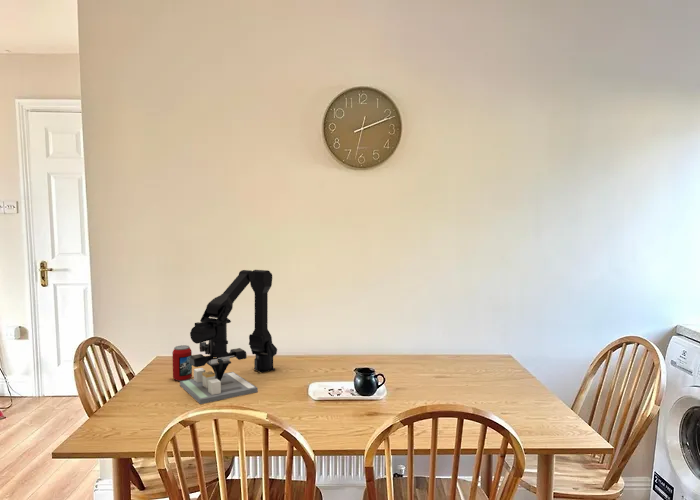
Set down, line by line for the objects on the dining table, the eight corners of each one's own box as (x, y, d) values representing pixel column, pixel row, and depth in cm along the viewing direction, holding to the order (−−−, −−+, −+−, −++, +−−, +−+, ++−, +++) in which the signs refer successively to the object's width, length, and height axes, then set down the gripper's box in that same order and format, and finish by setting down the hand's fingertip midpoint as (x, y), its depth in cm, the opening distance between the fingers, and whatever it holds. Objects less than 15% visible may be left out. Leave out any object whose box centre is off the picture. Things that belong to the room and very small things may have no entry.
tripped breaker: (211, 383, 175) (211, 371, 175) (214, 386, 172) (214, 373, 172) (202, 385, 174) (202, 372, 173) (206, 388, 171) (205, 375, 170)
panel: (233, 375, 190) (233, 371, 190) (257, 392, 172) (257, 387, 172) (179, 385, 178) (179, 381, 178) (200, 404, 160) (200, 399, 160)
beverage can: (186, 382, 182) (185, 349, 181) (169, 381, 183) (168, 348, 182) (195, 376, 188) (194, 345, 188) (179, 375, 190) (178, 344, 189)
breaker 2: (216, 390, 169) (216, 378, 169) (220, 393, 166) (220, 381, 166) (208, 391, 167) (208, 380, 167) (211, 394, 164) (211, 383, 164)
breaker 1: (202, 378, 181) (202, 367, 181) (205, 381, 178) (205, 370, 178) (193, 380, 179) (193, 369, 179) (197, 382, 176) (197, 371, 176)
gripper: (234, 329, 186) (235, 371, 187) (184, 336, 175) (185, 380, 176) (246, 335, 177) (247, 378, 178) (194, 342, 166) (195, 388, 167)
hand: (218, 381), depth 175 cm, fingers closed
